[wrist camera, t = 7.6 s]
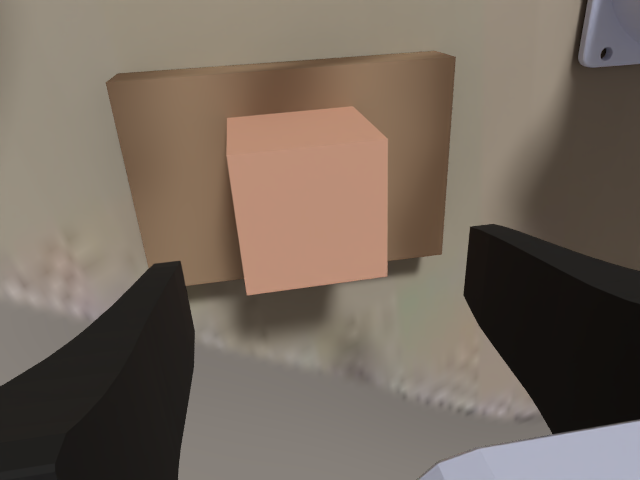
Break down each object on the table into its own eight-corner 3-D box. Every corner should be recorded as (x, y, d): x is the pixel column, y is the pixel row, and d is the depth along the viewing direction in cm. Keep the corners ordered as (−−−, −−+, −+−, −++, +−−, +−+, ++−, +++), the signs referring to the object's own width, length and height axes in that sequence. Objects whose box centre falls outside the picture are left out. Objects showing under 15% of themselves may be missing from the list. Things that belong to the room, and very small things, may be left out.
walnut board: (435, 51, 20) (455, 56, 18) (425, 234, 23) (441, 254, 22) (117, 73, 18) (105, 82, 16) (160, 265, 22) (153, 289, 20)
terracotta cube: (352, 106, 18) (388, 138, 14) (355, 219, 20) (387, 276, 16) (226, 117, 18) (226, 155, 14) (243, 233, 20) (246, 295, 16)
